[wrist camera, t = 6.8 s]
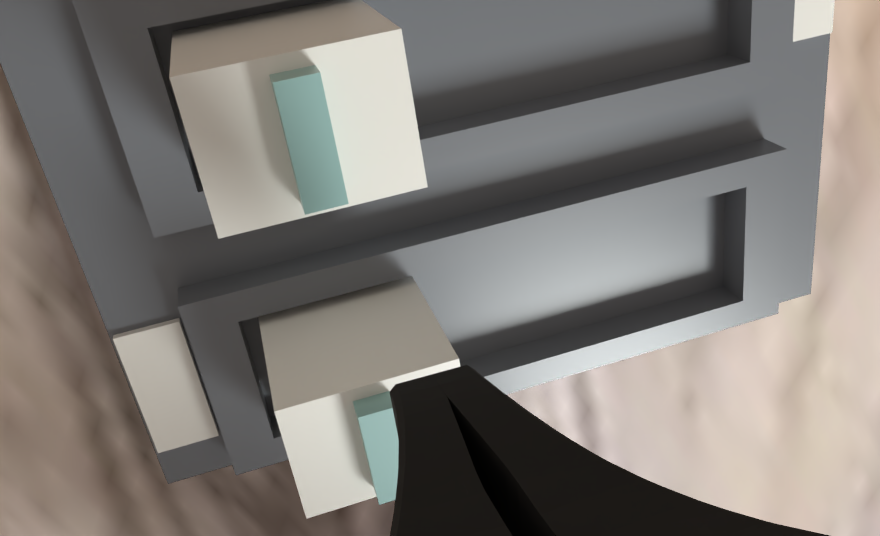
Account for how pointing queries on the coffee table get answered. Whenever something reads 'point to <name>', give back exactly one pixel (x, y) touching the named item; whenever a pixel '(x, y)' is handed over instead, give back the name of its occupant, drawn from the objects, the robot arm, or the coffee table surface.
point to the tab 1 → (297, 112)
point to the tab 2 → (348, 387)
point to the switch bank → (443, 192)
